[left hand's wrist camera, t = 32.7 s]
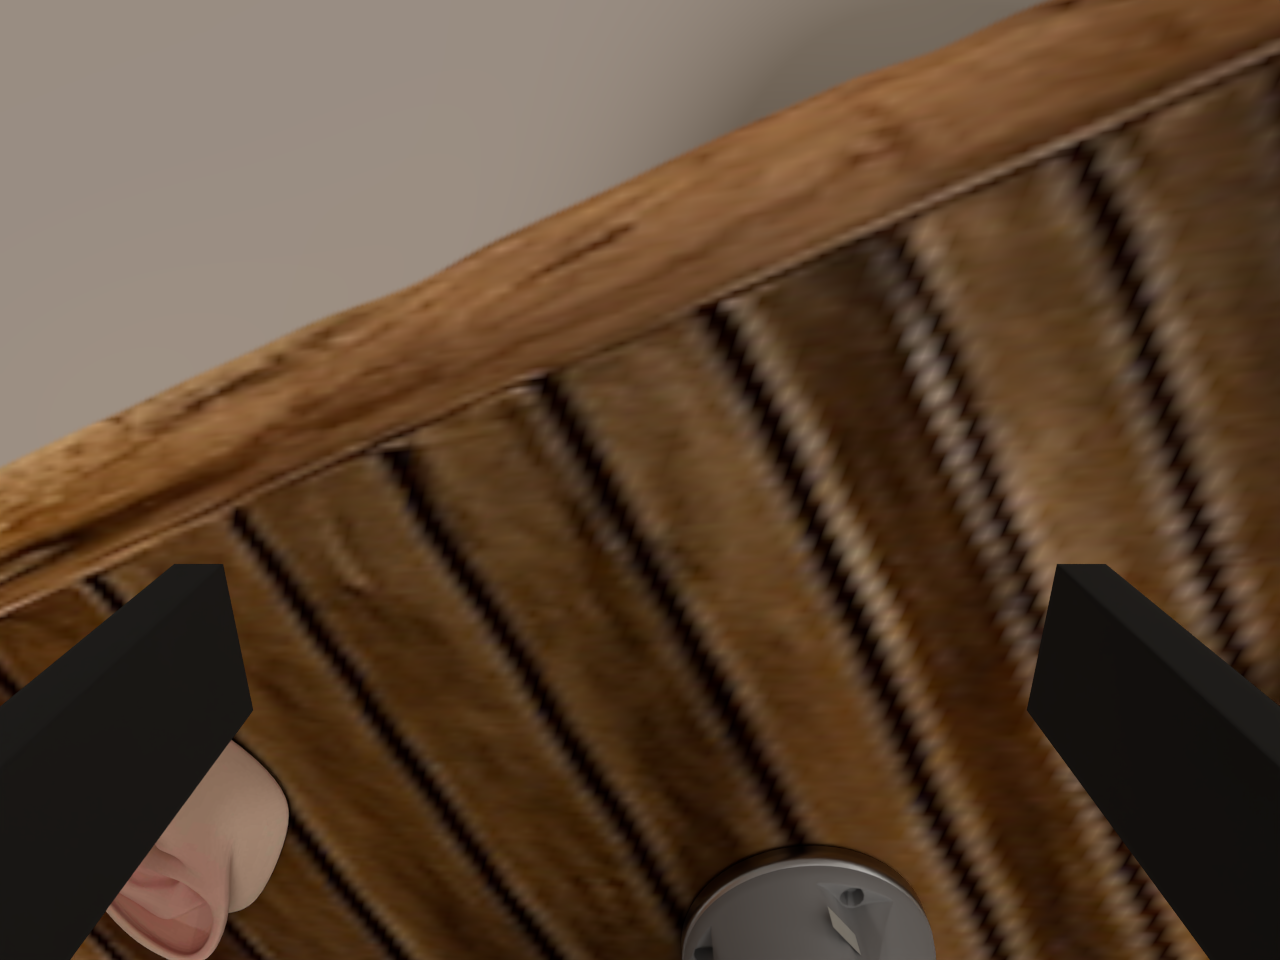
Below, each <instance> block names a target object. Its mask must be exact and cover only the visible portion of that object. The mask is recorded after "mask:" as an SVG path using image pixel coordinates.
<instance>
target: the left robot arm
mask: <svg viewBox="0 0 1280 960" xmlns="http://www.w3.org/2000/svg"><path fill="white" fill-rule="evenodd" d="M252 711H253V707H252V702H251V698H250V693H249V688H248V683H247V678H246V673H245V669H244V664H243V659H242V654H241V649H240V644H239V639H238V635H237V630H236V625H235V620H234V615H233V610H232V606H231V601H230V596H229V591H228V586H227V581H226V576H225V572H224V567H223V564H174V565H173V566H171V567H170V568H169V569H168V570H167V571H165V572H164V573H163V574H162V575H160V576H159V577H158V578H157V579H156V580H154V581H153V582H152V583H151V584H149V585H148V586H147V587H146V588H145V589H143V590H142V591H141V592H140V593H138V594H137V595H136V596H135V597H134V598H132V599H131V600H130V601H129V602H127V603H126V604H125V605H124V606H123V607H121V608H120V609H119V610H118V611H116V612H115V613H114V614H113V615H112V616H110V617H109V618H108V619H107V620H105V621H104V622H103V623H102V624H101V625H99V626H98V627H97V628H96V629H94V630H93V631H92V632H91V633H90V634H88V635H87V636H86V637H85V638H83V639H82V640H81V641H80V642H79V643H77V644H76V645H75V646H74V647H72V648H71V649H70V650H69V651H68V652H66V653H65V654H64V655H63V656H62V657H60V658H59V659H58V660H57V661H55V662H54V663H53V664H52V665H51V666H49V667H48V668H47V669H46V670H44V671H43V672H42V673H41V674H40V675H38V676H37V677H36V678H35V679H33V680H32V681H31V682H30V683H29V684H27V685H26V686H25V687H24V688H22V689H21V690H20V691H19V692H18V693H16V694H15V695H14V696H13V697H11V698H10V699H9V700H8V701H7V702H5V703H4V704H3V705H2V706H0V960H70V959H71V958H72V956H73V955H74V954H75V952H76V951H77V950H78V948H79V947H80V945H81V944H82V943H83V941H84V940H85V939H86V937H87V936H88V935H89V933H90V932H91V930H92V929H93V928H94V926H95V925H96V924H97V922H98V921H99V920H100V918H101V917H102V916H103V914H104V913H105V911H106V910H107V909H108V907H109V906H110V905H111V903H112V902H113V901H114V899H115V898H116V896H117V895H118V894H119V892H120V891H121V890H122V888H123V887H124V886H125V884H126V883H127V881H128V880H129V879H130V877H131V876H132V875H133V873H134V872H135V871H136V869H137V868H138V866H139V865H140V864H141V862H142V861H143V860H144V858H145V857H146V856H147V854H148V853H149V851H150V850H151V849H152V847H153V846H154V845H155V843H156V842H157V841H158V839H159V838H160V836H161V835H162V834H163V832H164V831H165V830H166V828H167V827H168V826H169V824H170V823H171V821H172V820H173V819H174V817H175V816H176V815H177V813H178V812H179V811H180V809H181V808H182V806H183V805H184V804H185V802H186V801H187V800H188V798H189V797H190V796H191V794H192V793H193V791H194V790H195V789H196V787H197V786H198V785H199V783H200V782H201V781H202V779H203V778H204V776H205V775H206V774H207V772H208V771H209V770H210V768H211V767H212V766H213V764H214V763H215V761H216V760H217V759H218V757H219V756H220V755H221V753H222V752H223V751H224V749H225V748H226V746H227V745H228V744H229V742H230V741H231V740H232V738H233V737H234V736H235V734H236V733H237V732H238V730H239V729H240V727H241V726H242V725H243V723H244V722H245V721H246V719H247V718H248V717H249V715H250V714H251V712H252ZM1027 711H1028V712H1029V714H1030V715H1031V717H1032V718H1033V719H1034V721H1035V722H1036V723H1037V725H1038V726H1039V727H1040V729H1041V730H1042V732H1043V733H1044V734H1045V736H1046V737H1047V738H1048V740H1049V741H1050V742H1051V744H1052V745H1053V746H1054V748H1055V749H1056V751H1057V752H1058V753H1059V755H1060V756H1061V757H1062V759H1063V760H1064V761H1065V763H1066V764H1067V766H1068V767H1069V768H1070V770H1071V771H1072V772H1073V774H1074V775H1075V776H1076V778H1077V779H1078V781H1079V782H1080V783H1081V785H1082V786H1083V787H1084V789H1085V790H1086V791H1087V793H1088V794H1089V796H1090V797H1091V798H1092V800H1093V801H1094V802H1095V804H1096V805H1097V806H1098V808H1099V809H1100V811H1101V812H1102V813H1103V815H1104V816H1105V817H1106V819H1107V820H1108V821H1109V823H1110V824H1111V826H1112V827H1113V828H1114V830H1115V831H1116V832H1117V834H1118V835H1119V836H1120V838H1121V839H1122V841H1123V842H1124V843H1125V845H1126V846H1127V847H1128V849H1129V850H1130V851H1131V853H1132V854H1133V856H1134V857H1135V858H1136V860H1137V861H1138V862H1139V864H1140V865H1141V866H1142V868H1143V869H1144V871H1145V872H1146V873H1147V875H1148V876H1149V877H1150V879H1151V880H1152V881H1153V883H1154V884H1155V886H1156V887H1157V888H1158V890H1159V891H1160V892H1161V894H1162V895H1163V896H1164V898H1165V899H1166V901H1167V902H1168V903H1169V905H1170V906H1171V907H1172V909H1173V910H1174V911H1175V913H1176V914H1177V916H1178V917H1179V918H1180V920H1181V921H1182V922H1183V924H1184V925H1185V926H1186V928H1187V929H1188V930H1189V932H1190V933H1191V935H1192V936H1193V937H1194V939H1195V940H1196V941H1197V943H1198V944H1199V945H1200V947H1201V948H1202V950H1203V951H1204V952H1205V954H1206V955H1207V956H1208V958H1209V959H1210V960H1280V706H1278V705H1277V704H1276V703H1275V702H1273V701H1272V700H1271V699H1270V698H1269V697H1267V696H1266V695H1265V694H1264V693H1262V692H1261V691H1260V690H1259V689H1258V688H1256V687H1255V686H1254V685H1253V684H1251V683H1250V682H1249V681H1248V680H1247V679H1245V678H1244V677H1243V676H1242V675H1240V674H1239V673H1238V672H1237V671H1236V670H1234V669H1233V668H1232V667H1231V666H1229V665H1228V664H1227V663H1226V662H1225V661H1223V660H1222V659H1221V658H1220V657H1218V656H1217V655H1216V654H1215V653H1214V652H1212V651H1211V650H1210V649H1209V648H1208V647H1206V646H1205V645H1204V644H1203V643H1201V642H1200V641H1199V640H1198V639H1197V638H1195V637H1194V636H1193V635H1192V634H1190V633H1189V632H1188V631H1187V630H1186V629H1184V628H1183V627H1182V626H1181V625H1179V624H1178V623H1177V622H1176V621H1175V620H1173V619H1172V618H1171V617H1170V616H1168V615H1167V614H1166V613H1165V612H1164V611H1162V610H1161V609H1160V608H1159V607H1157V606H1156V605H1155V604H1154V603H1153V602H1151V601H1150V600H1149V599H1148V598H1146V597H1145V596H1144V595H1143V594H1142V593H1140V592H1139V591H1138V590H1137V589H1135V588H1134V587H1133V586H1132V585H1131V584H1129V583H1128V582H1127V581H1126V580H1124V579H1123V578H1122V577H1121V576H1120V575H1118V574H1117V573H1116V572H1115V571H1113V570H1112V569H1111V568H1110V567H1109V566H1107V565H1106V564H1057V567H1056V572H1055V576H1054V581H1053V586H1052V591H1051V596H1050V601H1049V606H1048V610H1047V615H1046V620H1045V625H1044V630H1043V635H1042V639H1041V644H1040V649H1039V654H1038V659H1037V664H1036V669H1035V673H1034V678H1033V683H1032V688H1031V693H1030V698H1029V702H1028V707H1027ZM681 948H682V960H936V953H935V946H934V941H933V936H932V931H931V928H930V925H929V922H928V920H927V917H926V915H925V912H924V910H923V907H922V904H921V902H920V900H919V898H918V896H917V895H916V893H915V891H914V890H913V888H912V887H911V886H910V885H909V884H908V882H907V881H906V880H905V879H904V878H903V877H902V876H901V875H900V874H898V873H897V872H896V871H894V870H893V869H892V868H890V867H889V866H887V865H886V864H884V863H882V862H881V861H878V860H876V859H874V858H872V857H870V856H867V855H865V854H862V853H859V852H855V851H852V850H848V849H843V848H838V847H829V846H795V847H787V848H782V849H777V850H772V851H768V852H765V853H761V854H759V855H756V856H753V857H750V858H748V859H746V860H744V861H741V862H739V863H737V864H736V865H734V866H732V867H730V868H729V869H727V870H726V871H724V872H723V873H721V874H720V875H718V876H717V877H716V878H715V879H714V880H712V881H711V882H710V883H709V884H708V885H707V886H706V887H705V888H704V889H703V890H702V891H701V893H700V894H699V895H698V896H697V897H696V899H695V900H694V902H693V904H692V905H691V907H690V909H689V911H688V913H687V915H686V918H685V921H684V924H683V929H682V936H681Z"/></svg>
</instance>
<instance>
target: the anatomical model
mask: <svg viewBox="0 0 1280 960" xmlns="http://www.w3.org/2000/svg"><path fill="white" fill-rule="evenodd" d="M288 819H289V810H288V804H287V801H286V797H285V795H284V793H283V791H282V789H281V788H280V786H279V785H278V783H277V782H276V780H275V779H274V778H273V777H272V776H271V774H270V773H269V772H268V771H267V770H266V769H265V768H264V767H263V766H262V765H261V764H260V763H259V762H258V761H257V760H256V759H255V758H254V757H252V756H251V755H250V754H249V753H248V752H246V751H245V750H244V749H243V748H242V747H240V746H239V745H238V744H236V743H235V742H234V741H232V740H231V741H230V742H229V744H228V745H227V746H226V748H225V749H224V751H223V752H222V753H221V755H220V756H219V757H218V759H217V760H216V761H215V763H214V764H213V766H212V767H211V768H210V770H209V771H208V772H207V774H206V775H205V776H204V778H203V779H202V781H201V782H200V783H199V785H198V786H197V787H196V789H195V790H194V791H193V793H192V794H191V796H190V797H189V798H188V800H187V801H186V802H185V804H184V805H183V806H182V808H181V809H180V811H179V812H178V813H177V815H176V816H175V817H174V819H173V820H172V821H171V823H170V824H169V826H168V827H167V828H166V830H165V831H164V832H163V834H162V835H161V836H160V838H159V839H158V841H157V842H156V843H155V845H154V846H153V847H152V849H151V850H150V851H149V853H148V854H147V856H146V857H145V858H144V860H143V861H142V862H141V864H140V865H139V866H138V868H137V869H136V871H135V872H134V873H133V875H132V876H131V877H130V879H129V880H128V881H127V883H126V884H125V886H124V887H123V888H122V890H121V891H120V892H119V894H118V895H117V896H116V898H115V899H114V901H113V902H112V903H111V905H110V906H109V907H108V909H107V910H106V912H107V913H108V914H109V915H110V916H111V917H112V919H113V920H114V921H115V922H116V923H117V924H118V925H119V926H120V927H121V928H122V929H123V930H124V931H125V932H127V933H128V934H129V935H130V936H131V937H132V938H134V939H135V940H136V941H138V942H139V943H140V944H142V945H143V946H145V947H146V948H148V949H150V950H151V951H153V952H155V953H157V954H159V955H161V956H163V957H165V958H167V959H170V960H205V959H206V958H208V957H209V956H210V955H211V953H212V952H213V951H214V950H215V948H216V947H217V945H218V943H219V941H220V939H221V937H222V934H223V932H224V929H225V925H226V922H227V917H228V913H231V912H235V911H239V910H242V909H244V908H246V907H247V906H249V905H250V904H251V903H253V902H254V901H255V900H256V899H257V897H258V896H259V895H260V893H261V892H262V891H263V889H264V887H265V886H266V884H267V882H268V880H269V878H270V876H271V874H272V872H273V870H274V867H275V865H276V863H277V860H278V858H279V855H280V852H281V849H282V847H283V843H284V840H285V837H286V832H287V827H288Z"/></svg>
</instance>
